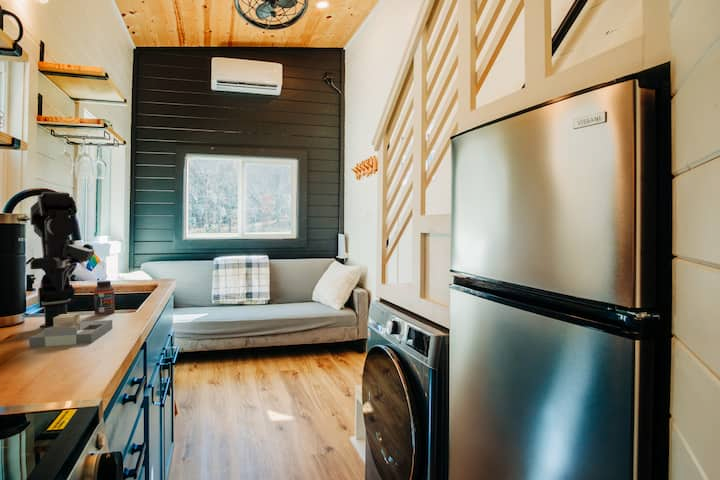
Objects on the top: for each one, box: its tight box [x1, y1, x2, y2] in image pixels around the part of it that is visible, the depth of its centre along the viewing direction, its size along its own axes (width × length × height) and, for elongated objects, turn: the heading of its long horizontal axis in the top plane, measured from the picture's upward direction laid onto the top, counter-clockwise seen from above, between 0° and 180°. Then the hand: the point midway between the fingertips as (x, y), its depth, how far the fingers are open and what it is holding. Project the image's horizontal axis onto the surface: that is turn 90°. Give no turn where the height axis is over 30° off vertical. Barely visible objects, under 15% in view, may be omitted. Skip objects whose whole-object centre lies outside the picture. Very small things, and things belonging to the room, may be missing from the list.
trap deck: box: [28, 319, 113, 349], centre depth 116 cm, size 16×14×4 cm
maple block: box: [53, 312, 81, 331], centre depth 112 cm, size 4×4×4 cm
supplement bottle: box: [93, 280, 116, 316], centre depth 147 cm, size 6×6×11 cm
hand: (60, 290), depth 122 cm, fingers closed
